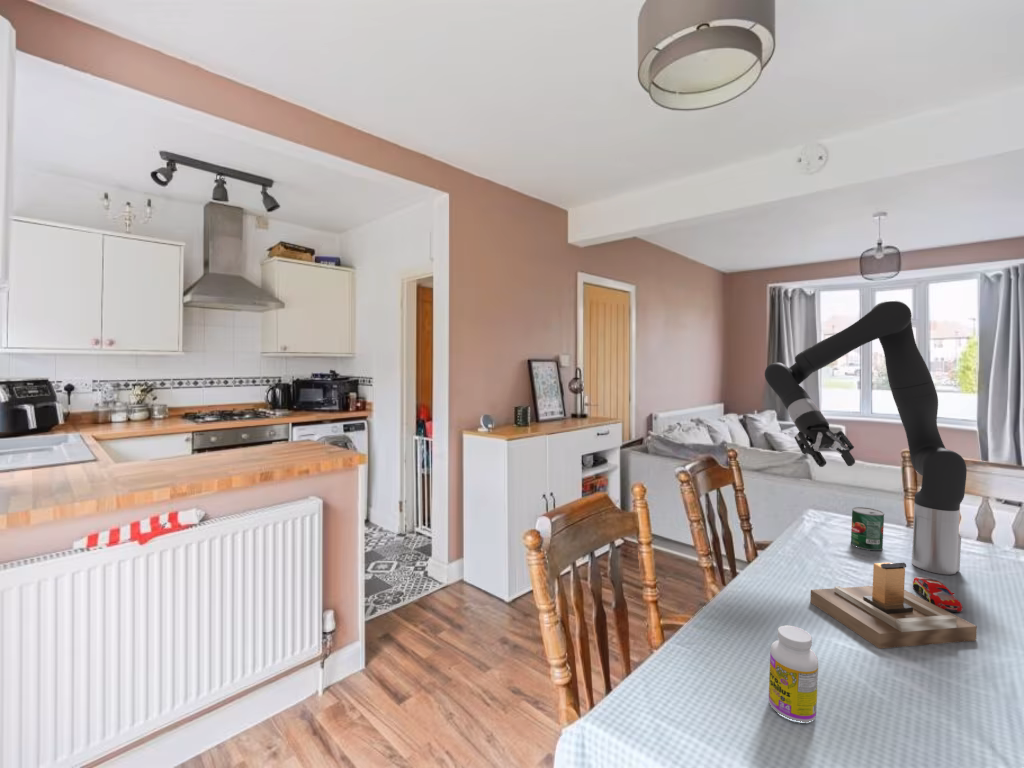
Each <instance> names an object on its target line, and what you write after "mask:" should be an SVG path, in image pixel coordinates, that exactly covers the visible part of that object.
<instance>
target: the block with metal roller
mask: <svg viewBox="0 0 1024 768" xmlns="http://www.w3.org/2000/svg"><path fill="white" fill-rule="evenodd" d="M906 568H907V563H905V562H879V563H878V562H877V563H874V562H873V569H872V570H873V572H872V573H873V574H872V586H873V592H872V596H863V600H864V601H865V602H867V603H869V604H871V605H872V606H874V607H876V608H878V609H879V610H881V611H883V612H884V613H886V614H894V613H908V612H913V607H911V606H909V605H907V604H905V603H904V590H905V584H906V583H905V581H906V579H905V578H906Z"/></svg>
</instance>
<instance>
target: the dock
mask: <svg viewBox="0 0 1024 768" xmlns="http://www.w3.org/2000/svg"><path fill="white" fill-rule="evenodd" d="M872 592H873V585H866V586H865V585H863V586H852V587H851V586H849V587H841V586H838V585H837V586H834V587H833V588H819V589H810V597H809V598H810V599H809V600H810V602H809V603H811V604H812V605H814V606H815V607H817V608H818V609H820V610H821V611H822V612H823V613H825V614H827V615H828V616H830V617H832V618H833V619H834V620H836V621H837V622H839V623H840V624H842V625H843V626H845V627H846V628H848V629H849V630H851V631H852V632H854V633H855V634H857V635H859V636H860V637H861V638H863V639H864V640H866V641H867V642H869V643H871V645H873V646H874V647H877V648H878V649H890V648H891V649H892V648H902V647H903V648H905V647H914V646H915V647H917V646H927V645H938V644H939V645H941V644H951V643H963V642H975V641H977V633H978V632H977V631H978V630H977V629H978V626H977V625H975V624H974V623H971V622H969V621H968V620H966V619H963V618H962V617H960V616H958V615H955V614H953V612H950V611H946V610H944V609H942V608H940V607H938V606H936V605H934V604H932V603H930V602H928V601H927V600H926V599H925V598H923V597H922V598H921V597H920V596H918V595H916V594H914V593H912V592H910V591H908V590H906V589H904V603H905V604H907V605H909V606H911V607H913V612H908V613H894V614H886V613H884V612H883V611H881V610H879V609H878V608H876V607H874V606H872V605H871V604H869V603H867V602H865V601H864V600H863V596H872Z"/></svg>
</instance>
